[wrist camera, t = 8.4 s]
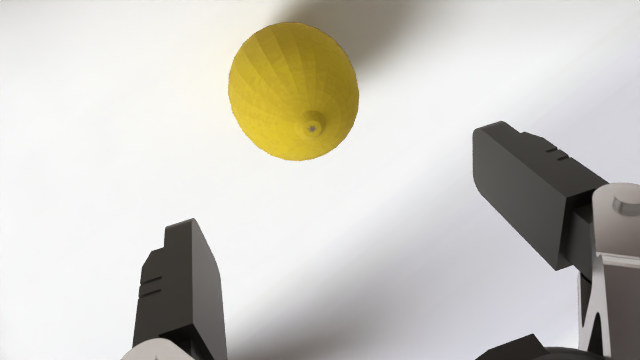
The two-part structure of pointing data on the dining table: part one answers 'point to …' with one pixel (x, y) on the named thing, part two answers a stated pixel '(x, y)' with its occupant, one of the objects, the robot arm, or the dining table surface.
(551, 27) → the dining table surface
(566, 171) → the robot arm
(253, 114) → the lemon
